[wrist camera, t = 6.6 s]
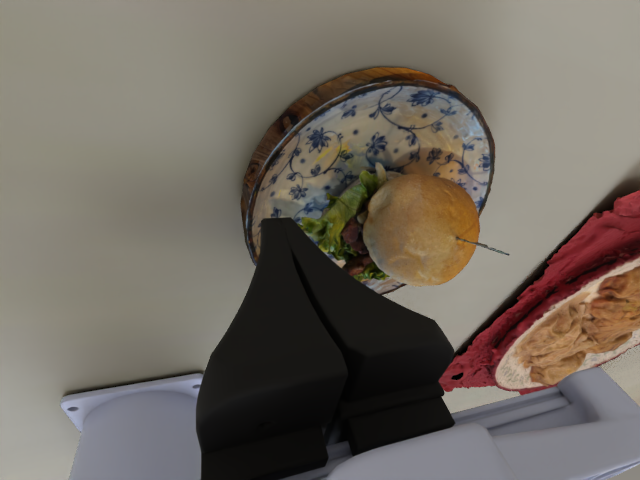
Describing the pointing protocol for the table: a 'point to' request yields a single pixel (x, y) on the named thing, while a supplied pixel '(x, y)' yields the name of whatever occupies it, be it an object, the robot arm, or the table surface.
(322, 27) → the table surface
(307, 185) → the burger
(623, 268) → the plate with food
